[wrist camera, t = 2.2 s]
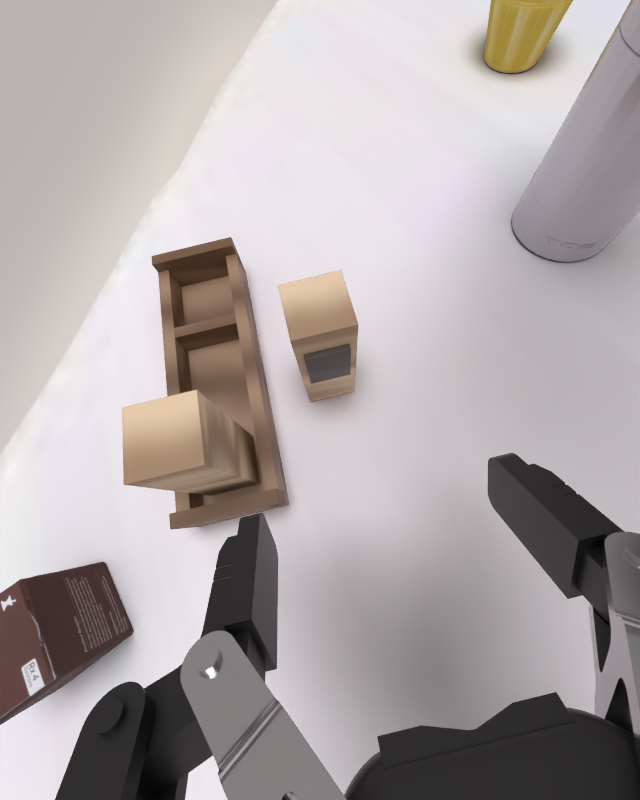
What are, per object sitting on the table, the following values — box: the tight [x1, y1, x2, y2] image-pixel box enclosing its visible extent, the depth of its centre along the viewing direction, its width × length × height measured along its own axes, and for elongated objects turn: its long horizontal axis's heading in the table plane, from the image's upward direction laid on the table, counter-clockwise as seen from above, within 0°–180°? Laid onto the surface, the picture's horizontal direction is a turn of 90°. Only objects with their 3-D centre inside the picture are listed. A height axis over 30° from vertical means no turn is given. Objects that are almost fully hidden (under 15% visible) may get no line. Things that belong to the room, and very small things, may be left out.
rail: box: [122, 237, 289, 529], centre depth 25 cm, size 24×8×12 cm, turn 13°
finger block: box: [278, 270, 358, 402], centre depth 25 cm, size 4×4×11 cm
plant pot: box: [484, 0, 573, 73], centre depth 38 cm, size 10×10×10 cm
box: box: [0, 562, 133, 725], centre depth 21 cm, size 6×6×7 cm
